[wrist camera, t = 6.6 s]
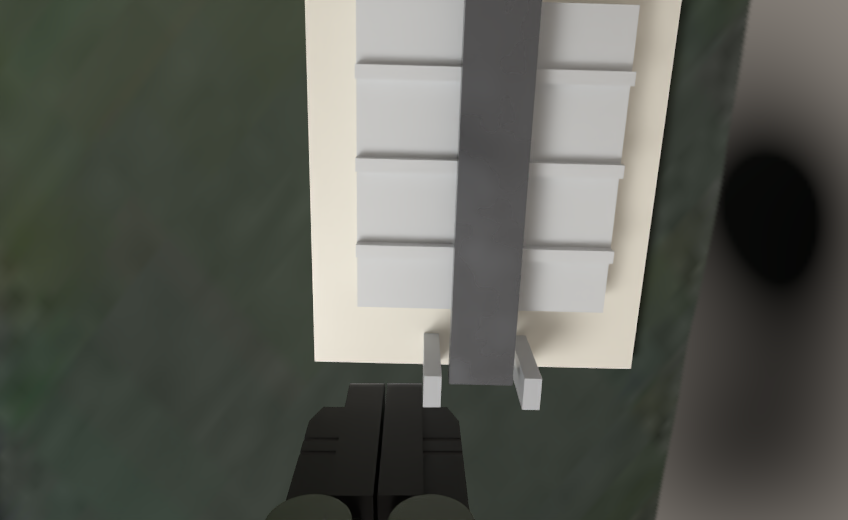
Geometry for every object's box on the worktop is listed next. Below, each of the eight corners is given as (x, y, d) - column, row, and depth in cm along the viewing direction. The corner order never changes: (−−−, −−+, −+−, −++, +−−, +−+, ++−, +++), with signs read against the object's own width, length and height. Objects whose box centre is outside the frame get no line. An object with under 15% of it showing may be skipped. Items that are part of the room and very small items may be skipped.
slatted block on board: (306, -95, 28) (277, -134, 23) (684, -84, 28) (748, -119, 23) (317, 353, 35) (297, 408, 29) (625, 360, 35) (663, 416, 29)
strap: (468, -102, 24) (470, -110, 23) (544, -100, 25) (550, -108, 23) (447, 373, 31) (449, 385, 29) (509, 374, 31) (512, 386, 30)
